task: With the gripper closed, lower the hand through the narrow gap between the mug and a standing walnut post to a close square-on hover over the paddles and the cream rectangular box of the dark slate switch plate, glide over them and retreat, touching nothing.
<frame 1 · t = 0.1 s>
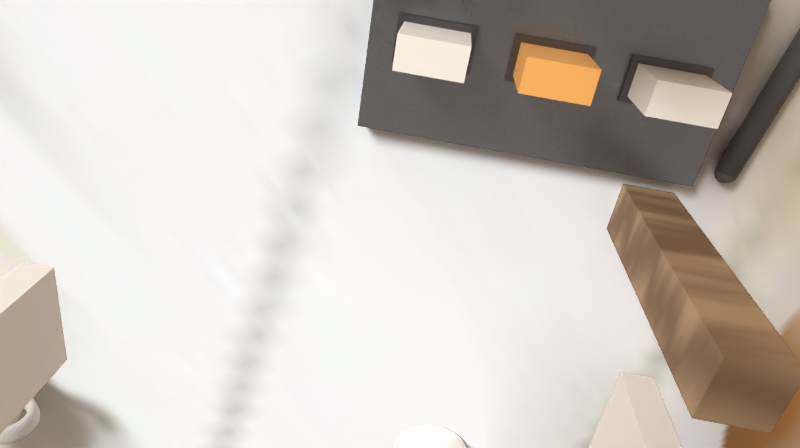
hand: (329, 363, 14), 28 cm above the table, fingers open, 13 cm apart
cream rectangular box: (676, 94, 34), point 4 cm above the table, hinge at 0.0°
post: (639, 211, 42), on the table
dark grey rod: (779, 74, 37), on the table
switch plate: (546, 58, 38), on the table
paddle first: (432, 51, 34), point 4 cm above the table, hinge at 0.0°
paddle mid: (554, 72, 34), point 4 cm above the table, hinge at 0.0°
teacup: (2, 370, 55), on the table
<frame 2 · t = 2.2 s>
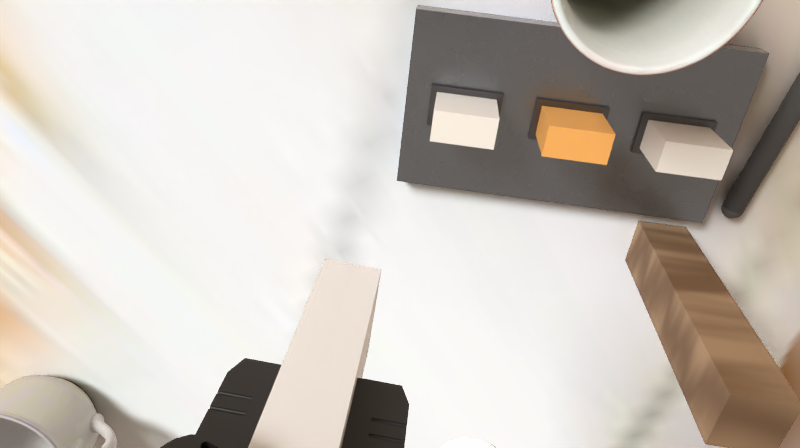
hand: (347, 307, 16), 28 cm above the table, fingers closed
cream rectangular box: (683, 149, 38), point 4 cm above the table, hinge at 0.0°
post: (654, 244, 46), on the table
dark grey rod: (777, 121, 40), on the table
switch plate: (564, 115, 42), on the table
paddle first: (464, 119, 39), point 4 cm above the table, hinge at 0.0°
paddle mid: (573, 134, 38), point 4 cm above the table, hinge at 0.0°
teacup: (78, 400, 61), on the table
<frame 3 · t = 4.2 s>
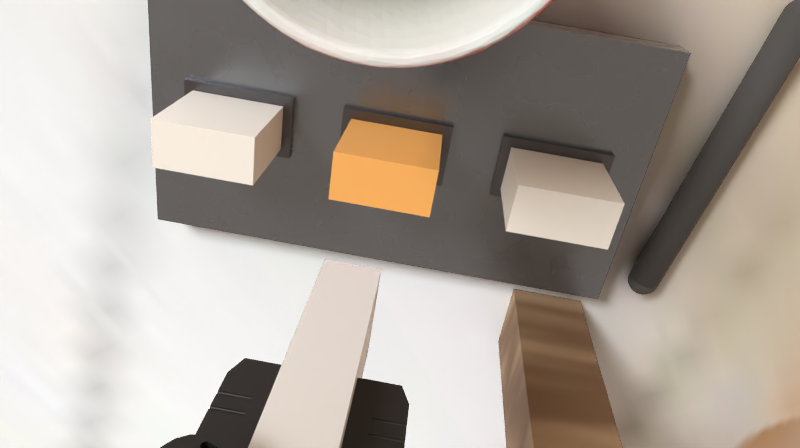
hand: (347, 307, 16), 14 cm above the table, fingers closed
cream rectangular box: (556, 195, 25), point 4 cm above the table, hinge at 0.0°
post: (538, 321, 32), on the table
dark grey rod: (707, 157, 27), on the table
switch plate: (397, 134, 28), on the table
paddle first: (221, 135, 25), point 4 cm above the table, hinge at 0.0°
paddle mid: (388, 165, 25), point 4 cm above the table, hinge at 0.0°
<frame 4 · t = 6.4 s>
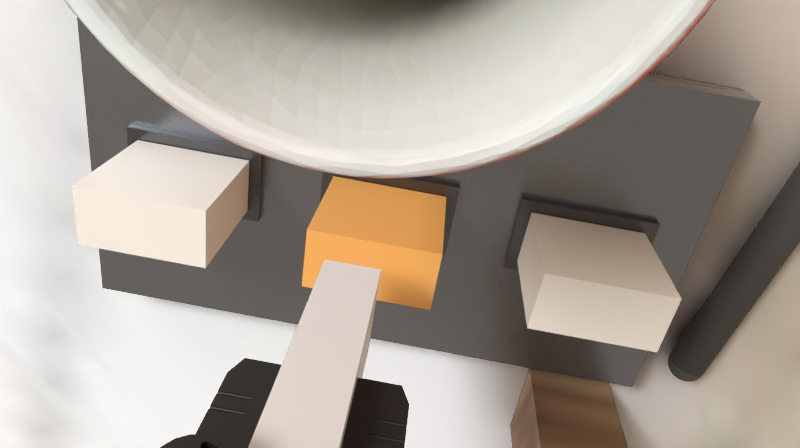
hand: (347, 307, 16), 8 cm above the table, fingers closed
cream rectangular box: (590, 277, 20), point 4 cm above the table, hinge at 0.0°
post: (557, 404, 27), on the table
dark grey rod: (770, 222, 22), on the table
switch plate: (391, 190, 23), on the table
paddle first: (169, 199, 20), point 4 cm above the table, hinge at 0.0°
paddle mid: (378, 238, 20), point 4 cm above the table, hinge at 0.0°
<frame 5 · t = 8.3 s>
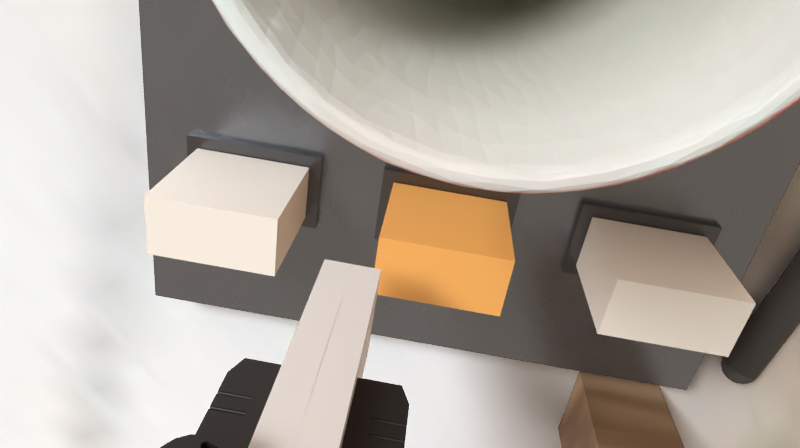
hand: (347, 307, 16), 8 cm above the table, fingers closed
cream rectangular box: (655, 282, 20), point 4 cm above the table, hinge at 0.0°
post: (607, 407, 27), on the table
switch plate: (446, 195, 23), on the table
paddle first: (233, 208, 20), point 4 cm above the table, hinge at 0.0°
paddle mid: (443, 244, 20), point 4 cm above the table, hinge at 0.0°
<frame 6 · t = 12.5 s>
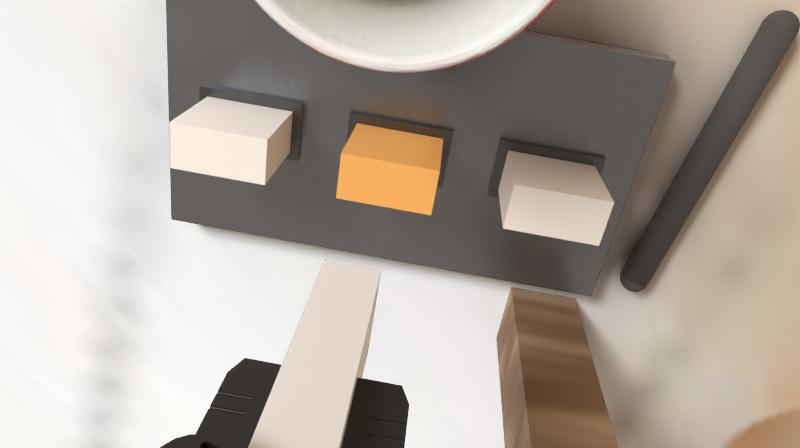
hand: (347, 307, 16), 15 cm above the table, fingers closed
cream rectangular box: (551, 195, 26), point 4 cm above the table, hinge at 0.0°
post: (534, 318, 34), on the table
dark grey rod: (694, 160, 29), on the table
switch plate: (400, 138, 30), on the table
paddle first: (234, 138, 26), point 4 cm above the table, hinge at 0.0°
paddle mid: (392, 166, 26), point 4 cm above the table, hinge at 0.0°
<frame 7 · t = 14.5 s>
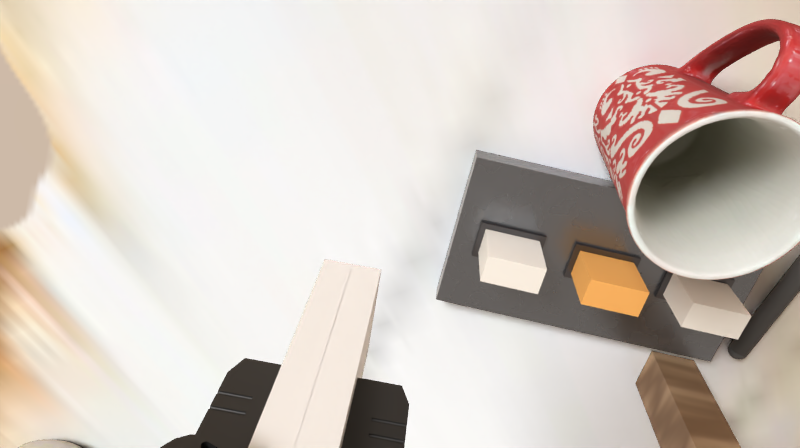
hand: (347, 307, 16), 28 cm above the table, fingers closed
cream rectangular box: (705, 304, 42), point 4 cm above the table, hinge at 0.0°
post: (664, 372, 50), on the table
dark grey rod: (785, 280, 45), on the table
switch plate: (596, 255, 45), on the table
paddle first: (510, 260, 42), point 4 cm above the table, hinge at 0.0°
mug: (662, 95, 40), on the table
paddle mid: (608, 282, 42), point 4 cm above the table, hinge at 0.0°
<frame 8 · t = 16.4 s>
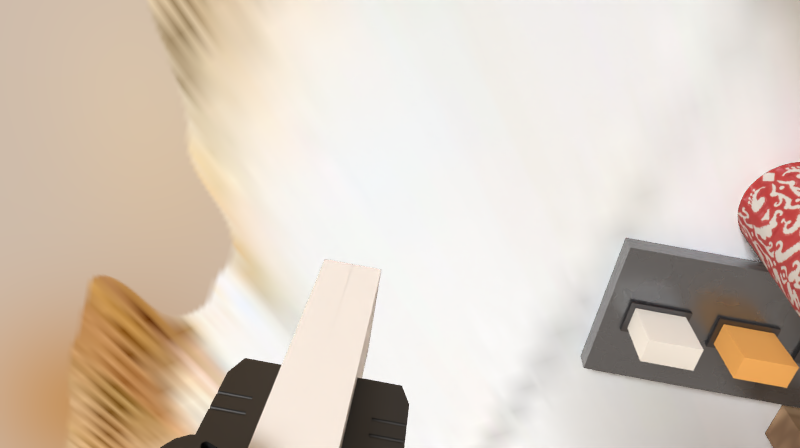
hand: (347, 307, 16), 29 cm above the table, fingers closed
post: (793, 422, 53), on the table
switch plate: (734, 324, 49), on the table
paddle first: (663, 338, 46), point 4 cm above the table, hinge at 0.0°
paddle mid: (754, 355, 46), point 4 cm above the table, hinge at 0.0°
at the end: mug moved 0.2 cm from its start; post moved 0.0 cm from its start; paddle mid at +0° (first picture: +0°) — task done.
